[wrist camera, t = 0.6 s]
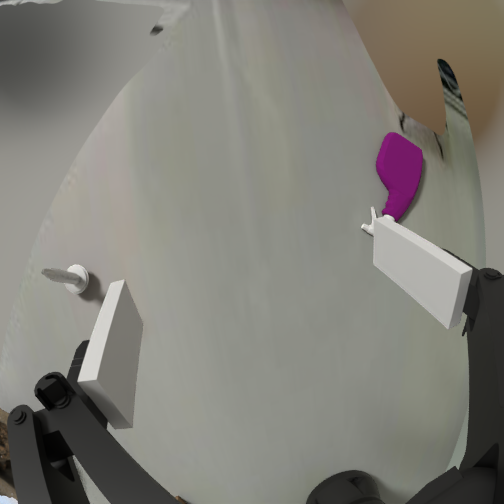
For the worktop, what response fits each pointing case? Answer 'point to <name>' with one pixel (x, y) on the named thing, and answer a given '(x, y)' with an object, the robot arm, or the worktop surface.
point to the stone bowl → (5, 460)
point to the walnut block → (180, 500)
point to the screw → (70, 277)
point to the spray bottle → (397, 175)
